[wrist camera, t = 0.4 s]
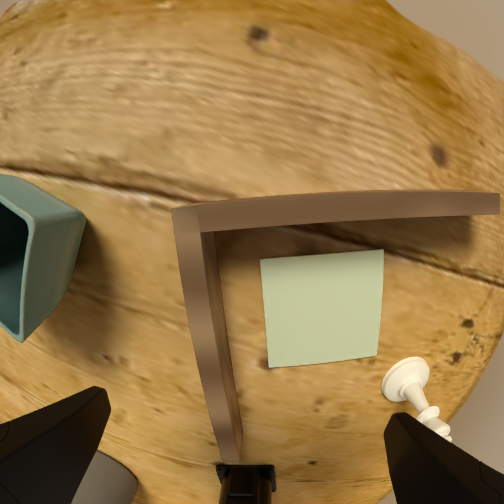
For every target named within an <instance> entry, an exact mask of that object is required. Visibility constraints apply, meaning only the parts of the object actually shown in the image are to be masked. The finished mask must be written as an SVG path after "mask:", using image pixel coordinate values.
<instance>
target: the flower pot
mask: <svg viewBox="0 0 504 504" xmlns="http://www.w3.org/2000/svg"><path fill="white" fill-rule="evenodd" d="M85 225H86V217H85V215H84V214H83V213H82V212H81V211H79V210H78V209H76V208H74V207H72V206H70V205H69V204H67V203H65V202H63V201H61V200H60V199H58V198H56V197H55V196H53V195H51V194H49V193H48V192H46V191H44V190H43V189H41V188H39V187H38V186H36V185H35V184H33V183H31V182H29V181H27V180H24V179H22V178H19V177H15V176H11V175H3V174H0V326H1V327H3V328H4V329H5V330H6V331H7V332H8V333H9V334H10V335H11V336H12V337H13V338H14V339H16V340H17V341H19V342H21V343H23V342H24V341H25V340H26V339H27V338H28V337H29V336H30V334H31V333H32V332H33V331H34V330H35V329H36V328H37V327H38V326H39V325H40V324H41V323H42V322H43V321H44V320H45V319H46V318H47V317H48V316H49V315H50V314H51V313H52V312H53V310H54V309H55V308H56V307H57V306H58V304H59V303H60V301H61V300H62V298H63V296H64V294H65V292H66V290H67V288H68V286H69V283H70V280H71V277H72V274H73V271H74V268H75V263H76V259H77V255H78V251H79V247H80V243H81V239H82V236H83V232H84V229H85Z"/></svg>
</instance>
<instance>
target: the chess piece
mask: <svg viewBox="0 0 504 504" xmlns="http://www.w3.org/2000/svg"><path fill="white" fill-rule="evenodd" d="M428 378H429V367H428V365H427V363H426V361H425V360H424V359H422V358H420V357H409V358H406V359H403V360H401V361H399V362H398V363H396V364H395V365H394V366H393V367H391V368H390V369H389V371H388V372H387V373H386V375H385V376H384V378H383V381H382V385H381V389H382V392H383V394H384V395H385V396H386V398H387V399H389V400H391V401H394V402H400V401H405V400H409V401H410V402H411V404H412V405H413V406H414V407H415V408H416V410H417V411H418V412H419V414H420V415H419V416H418V417H417V420H418V421H419V422H421V423H422V424H424V425H425V426H427V427H428V428H430V429H431V430H433V431H434V432H436V433H437V434H439V435H440V436H442V437H443V438H445V439H446V440H448V441H449V442H451V441H452V439H451V437H450V436H448V434H449V432H450V427H449V425H447V424H446V423H444V422H442V421H441V420H440V419H438V418H437V417H438V416H439V413H440V411H439V408H438V407H437V406H432V407H429V404H428V402H427V400H426V398H425V395H424V393H423V390H422V389H423V387H424V386H425V385H426V383H427V381H428ZM447 436H448V437H447Z"/></svg>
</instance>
